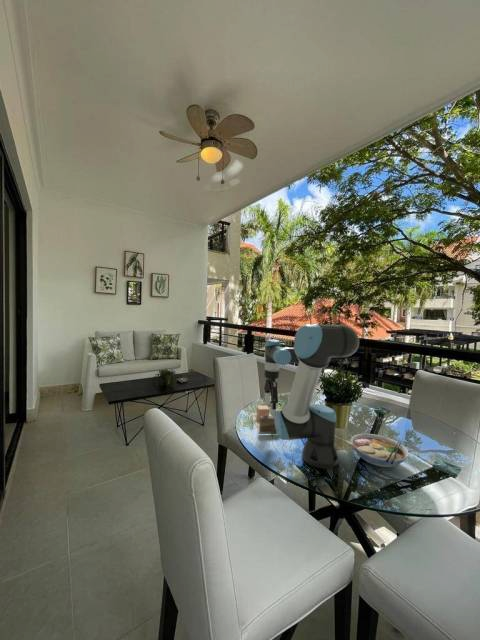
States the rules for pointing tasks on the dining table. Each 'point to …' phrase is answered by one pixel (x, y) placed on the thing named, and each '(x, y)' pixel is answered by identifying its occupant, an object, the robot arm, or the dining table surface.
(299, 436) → the robot arm
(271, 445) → the dining table surface
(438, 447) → the dining table surface
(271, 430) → the wooden brown box
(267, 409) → the block
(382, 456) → the ramen bowl
